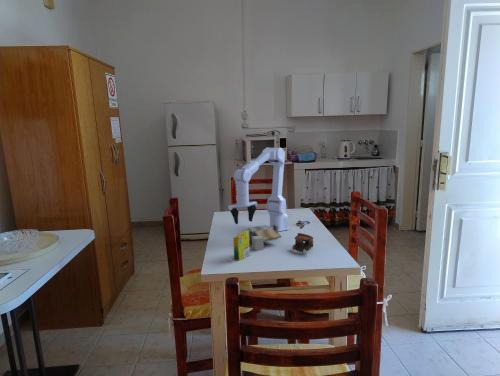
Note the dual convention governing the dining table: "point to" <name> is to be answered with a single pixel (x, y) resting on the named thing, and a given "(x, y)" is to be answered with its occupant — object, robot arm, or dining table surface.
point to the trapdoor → (264, 232)
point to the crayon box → (241, 245)
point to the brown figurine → (303, 245)
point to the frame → (251, 234)
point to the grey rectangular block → (257, 243)
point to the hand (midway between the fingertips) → (243, 222)
